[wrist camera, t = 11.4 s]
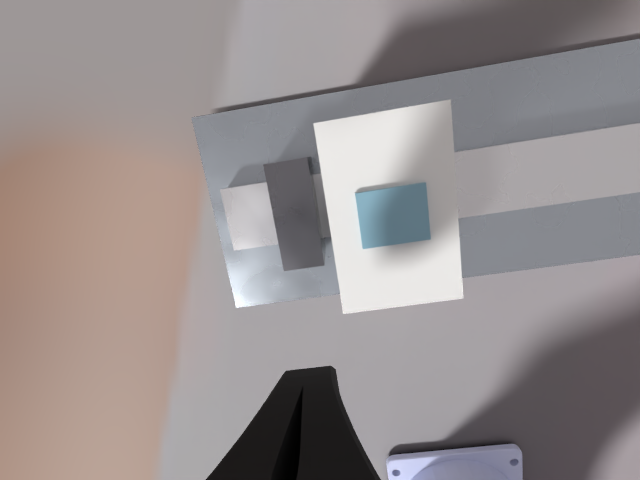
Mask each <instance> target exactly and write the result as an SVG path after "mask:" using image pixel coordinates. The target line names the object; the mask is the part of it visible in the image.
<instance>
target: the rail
mask: <svg viewBox="0 0 640 480" xmlns="http://www.w3.org/2000/svg"><path fill="white" fill-rule="evenodd" d="M450 99H451V110H452V126H453V142H454V158H455V174H456V190H457V206H458V222H459V238H460V254H461V270H462V278H466V277H474V276H481V275H489V274H497V273H504V272H512V271H520V270H527V269H535V268H542V267H550V266H558V265H565V264H573V263H581V262H588V261H596V260H603V259H611V258H619V257H626V256H634V255H640V39H635V40H629V41H624V42H618V43H612V44H607V45H601V46H595V47H589V48H584V49H578V50H572V51H567V52H561V53H555V54H550V55H544V56H538V57H533V58H527V59H521V60H516V61H510V62H504V63H499V64H493V65H487V66H482V67H476V68H470V69H465V70H459V71H453V72H447V73H442V74H436V75H430V76H425V77H419V78H413V79H408V80H402V81H396V82H391V83H385V84H379V85H374V86H368V87H362V88H357V89H351V90H345V91H340V92H334V93H328V94H323V95H317V96H311V97H305V98H300V99H294V100H288V101H283V102H277V103H271V104H266V105H260V106H254V107H249V108H243V109H237V110H232V111H226V112H220V113H215V114H209V115H204V116H198V117H192V122H193V126H194V130H195V134H196V139H197V143H198V147H199V152H200V156H201V160H202V164H203V169H204V173H205V177H206V181H207V185H208V190H209V194H210V198H211V202H212V207H213V211H214V215H215V219H216V224H217V228H218V232H219V236H220V240H221V245H222V249H223V253H224V257H225V262H226V266H227V270H228V274H229V279H230V283H231V287H232V291H233V295H234V300H235V304H236V308H237V307H245V306H253V305H260V304H268V303H275V302H283V301H291V300H298V299H306V298H314V297H321V296H329V295H336V294H340V289H339V283H338V277H337V270H336V264H335V257H334V251H333V245H332V238H331V232H330V226H329V219H328V213H327V207H326V200H325V194H324V188H323V181H322V175H321V169H320V162H319V156H318V150H317V143H316V137H315V131H314V124H313V123H318V122H324V121H330V120H335V119H341V118H347V117H353V116H358V115H364V114H370V113H376V112H381V111H387V110H393V109H398V108H404V107H410V106H416V105H421V104H427V103H433V102H439V101H444V100H450Z"/></svg>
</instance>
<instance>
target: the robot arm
mask: <svg viewBox="0 0 640 480" xmlns="http://www.w3.org/2000/svg"><path fill="white" fill-rule="evenodd" d="M512 459H513V460H512ZM386 464H387V472H388V479H389V480H523V471H522V451H521V450H520V448H519V447H518V446H517V445H515V444H503V445H492V446H481V447H471V448H460V449H450V450H439V451H428V452H418V453H407V454H397V455H391V456H389V457H388V458H387V460H386ZM395 470H396V471H395ZM206 480H381V479H380V478H379V476H378V474H377V473H376V471H375V469H374V467H373V465H372V464H371V462H370V460H369V458H368V456H367V454H366V453H365V451H364V449H363V447H362V445H361V443H360V441H359V439H358V437H357V435H356V433H355V431H354V429H353V426H352V424H351V422H350V419H349V417H348V415H347V412H346V410H345V407H344V405H343V402H342V399H341V396H340V393H339V387H338V381H337V375H336V369H334V368H333V367H332V366H324V367H316V368H307V369H298V370H290V371H286V372H285V373H284V374H283V375H282V377H281V378H280V380H279V381H278V383H277V384H276V386H275V387H274V389H273V390H272V392H271V394H270V395H269V397H268V398H267V400H266V401H265V402H264V404H263V405H262V407H261V408H260V410H259V411H258V413H257V414H256V415H255V417H254V418H253V420H252V421H251V422H250V424H249V425H248V427H247V428H246V430H245V431H244V432H243V434H242V435H241V436H240V438H239V439H238V440H237V442H236V443H235V444H234V445H233V447H232V448H231V449H230V450H229V452H228V453H227V454H226V456H225V457H224V458H223V459H222V461H221V462H220V463H219V464H218V466H217V467H216V468H215V469H214V471H213V472H212V473H211V474H210V475H209V476H208V478H207V479H206Z"/></svg>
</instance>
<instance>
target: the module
mask: <svg viewBox="0 0 640 480" xmlns="http://www.w3.org/2000/svg"><path fill="white" fill-rule="evenodd" d="M313 124H314V131H315V137H316V143H317V150H318V156H319V162H320V169H321V175H322V181H323V188H324V194H325V200H326V207H327V213H328V219H329V226H330V232H331V238H332V245H333V251H334V257H335V264H336V270H337V277H338V283H339V289H340V296H341V302H342V308H343V314H347V313H355V312H362V311H370V310H378V309H385V308H393V307H401V306H408V305H416V304H424V303H431V302H439V301H447V300H454V299H462V298H463V286H462V270H461V254H460V238H459V222H458V206H457V190H456V174H455V158H454V142H453V126H452V110H451V99H450V100H444V101H439V102H433V103H427V104H421V105H416V106H410V107H404V108H398V109H393V110H387V111H381V112H376V113H370V114H364V115H358V116H353V117H347V118H341V119H335V120H330V121H324V122H318V123H313Z"/></svg>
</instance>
